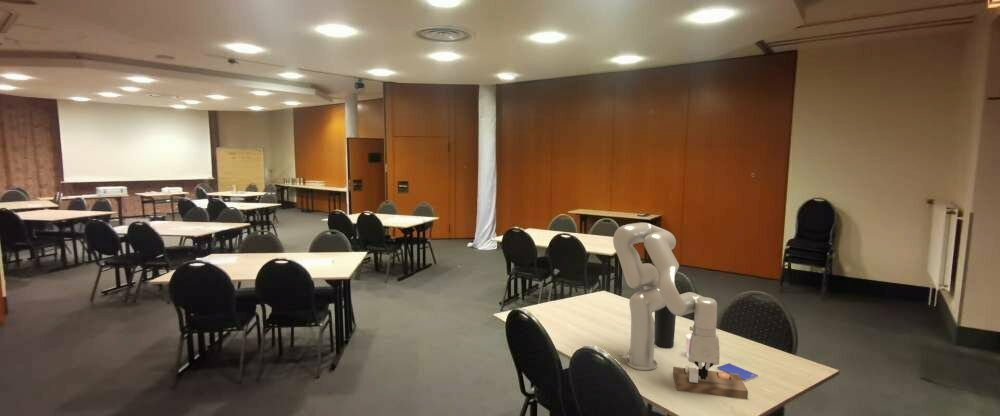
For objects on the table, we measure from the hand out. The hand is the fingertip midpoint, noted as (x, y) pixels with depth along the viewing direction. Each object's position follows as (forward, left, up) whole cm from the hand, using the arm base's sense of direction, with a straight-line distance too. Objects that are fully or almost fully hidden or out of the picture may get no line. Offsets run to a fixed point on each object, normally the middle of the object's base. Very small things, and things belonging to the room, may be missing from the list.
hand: (702, 378), depth 173 cm
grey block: (-4, 0, -1) cm, 4 cm away
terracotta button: (+9, +7, -4) cm, 12 cm away
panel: (+3, +4, -5) cm, 6 cm away
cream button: (-3, +7, -3) cm, 8 cm away
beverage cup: (+1, +31, -5) cm, 31 cm away
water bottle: (-10, +41, -5) cm, 42 cm away
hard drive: (+16, +18, -5) cm, 25 cm away
